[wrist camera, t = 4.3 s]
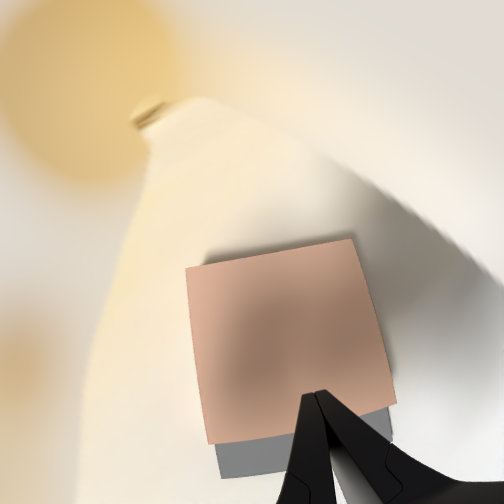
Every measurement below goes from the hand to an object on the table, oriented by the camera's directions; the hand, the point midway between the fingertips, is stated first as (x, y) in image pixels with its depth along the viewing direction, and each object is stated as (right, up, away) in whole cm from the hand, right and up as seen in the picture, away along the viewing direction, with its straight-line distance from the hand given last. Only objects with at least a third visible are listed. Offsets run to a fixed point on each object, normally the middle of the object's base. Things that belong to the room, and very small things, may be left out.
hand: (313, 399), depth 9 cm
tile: (+1, -4, +4) cm, 6 cm away
